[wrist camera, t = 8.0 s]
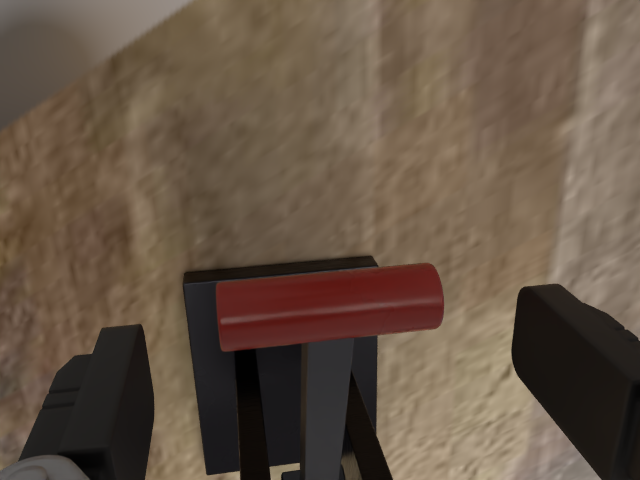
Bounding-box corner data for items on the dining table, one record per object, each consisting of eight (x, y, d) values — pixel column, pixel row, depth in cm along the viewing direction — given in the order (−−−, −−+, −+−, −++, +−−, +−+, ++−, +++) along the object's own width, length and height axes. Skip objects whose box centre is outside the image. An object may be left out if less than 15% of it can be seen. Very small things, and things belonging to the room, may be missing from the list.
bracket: (183, 272, 27) (161, 446, 16) (372, 255, 28) (468, 406, 18) (206, 459, 31) (201, 699, 20) (371, 437, 32) (448, 651, 22)
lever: (213, 255, 13) (217, 335, 12) (422, 237, 14) (456, 310, 12) (245, 513, 22) (249, 582, 20) (373, 494, 23) (389, 559, 21)
